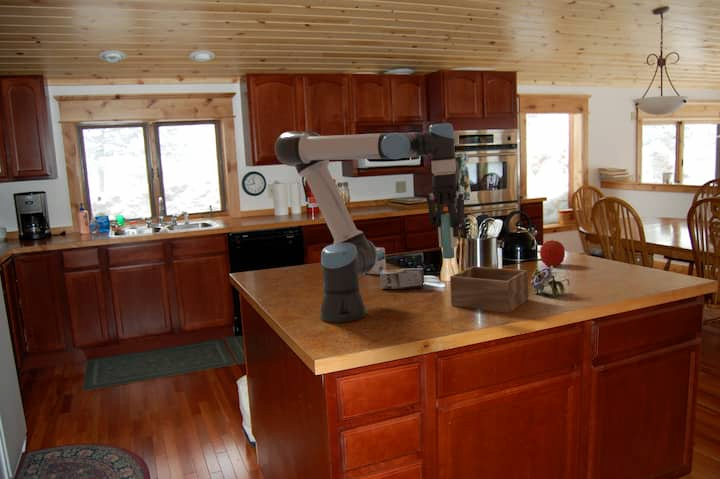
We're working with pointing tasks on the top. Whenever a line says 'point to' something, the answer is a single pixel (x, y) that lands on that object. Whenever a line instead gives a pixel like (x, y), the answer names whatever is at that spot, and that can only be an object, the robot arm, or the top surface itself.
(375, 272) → the light bulb box
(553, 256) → the red round piece
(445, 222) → the peg
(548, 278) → the passion flower
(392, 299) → the top surface
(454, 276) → the crate
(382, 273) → the coffee box
